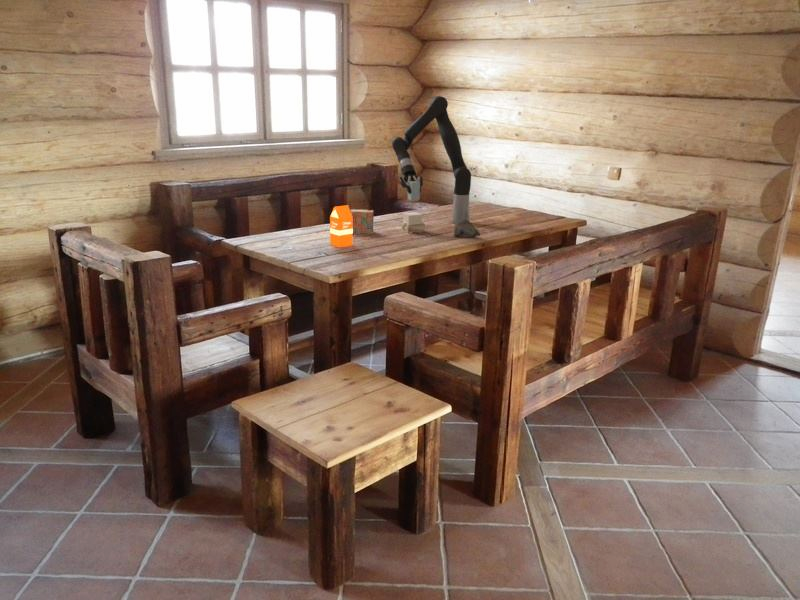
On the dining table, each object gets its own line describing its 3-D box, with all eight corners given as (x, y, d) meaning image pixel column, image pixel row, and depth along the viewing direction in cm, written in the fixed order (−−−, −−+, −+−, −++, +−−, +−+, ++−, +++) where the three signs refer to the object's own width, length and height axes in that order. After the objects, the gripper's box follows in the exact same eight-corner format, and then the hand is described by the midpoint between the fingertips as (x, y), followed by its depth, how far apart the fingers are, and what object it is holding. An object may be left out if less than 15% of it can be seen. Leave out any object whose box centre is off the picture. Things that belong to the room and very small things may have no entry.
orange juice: (353, 244, 349) (353, 206, 343) (339, 247, 343) (338, 207, 337) (343, 242, 355) (343, 203, 348) (329, 244, 349) (329, 205, 343)
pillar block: (407, 199, 381) (408, 181, 378) (415, 198, 383) (416, 180, 379) (411, 200, 376) (411, 182, 373) (419, 200, 378) (420, 182, 375)
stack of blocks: (333, 232, 376) (333, 210, 372) (335, 230, 381) (335, 208, 378) (372, 234, 375) (372, 212, 371) (373, 231, 381) (373, 209, 377)
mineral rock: (481, 238, 370) (482, 220, 367) (466, 240, 364) (467, 222, 360) (465, 234, 380) (466, 216, 376) (450, 236, 373) (451, 218, 370)
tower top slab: (403, 221, 385) (403, 212, 384) (416, 220, 388) (416, 212, 387) (408, 224, 378) (408, 215, 377) (421, 223, 381) (422, 214, 380)
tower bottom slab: (401, 230, 387) (401, 221, 386) (417, 229, 391) (417, 220, 390) (408, 233, 379) (408, 224, 377) (424, 232, 382) (424, 223, 381)
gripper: (397, 164, 378) (405, 189, 371) (421, 163, 383) (429, 188, 376) (393, 172, 384) (401, 197, 377) (416, 171, 389) (424, 196, 382)
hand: (415, 192), depth 377 cm, fingers closed on pillar block, 5 cm apart
